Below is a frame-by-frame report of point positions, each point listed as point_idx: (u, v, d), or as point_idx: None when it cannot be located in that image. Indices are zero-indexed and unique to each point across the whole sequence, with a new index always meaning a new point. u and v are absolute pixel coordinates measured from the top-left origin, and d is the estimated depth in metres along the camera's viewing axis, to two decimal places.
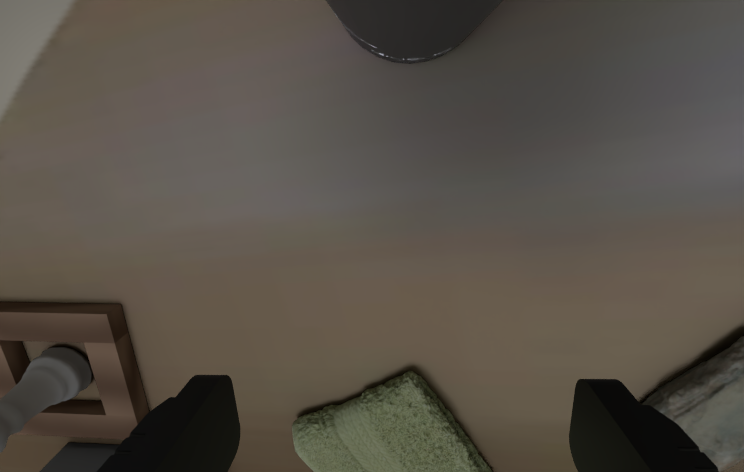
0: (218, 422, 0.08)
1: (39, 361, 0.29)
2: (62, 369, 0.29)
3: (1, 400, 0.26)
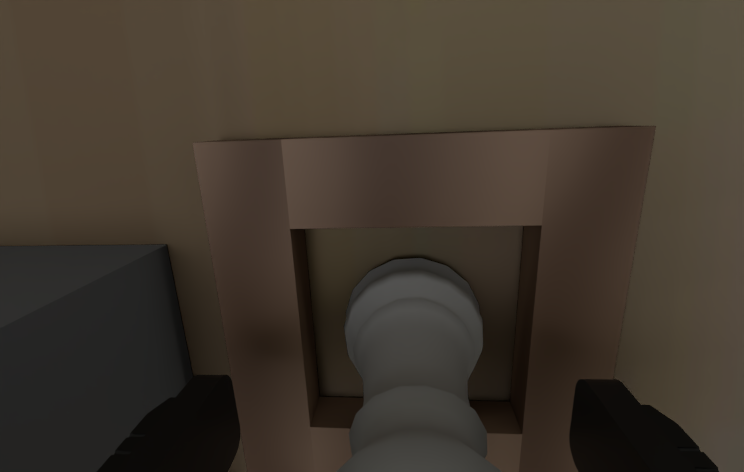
0: (218, 422, 0.08)
1: (478, 335, 0.11)
2: None
3: None
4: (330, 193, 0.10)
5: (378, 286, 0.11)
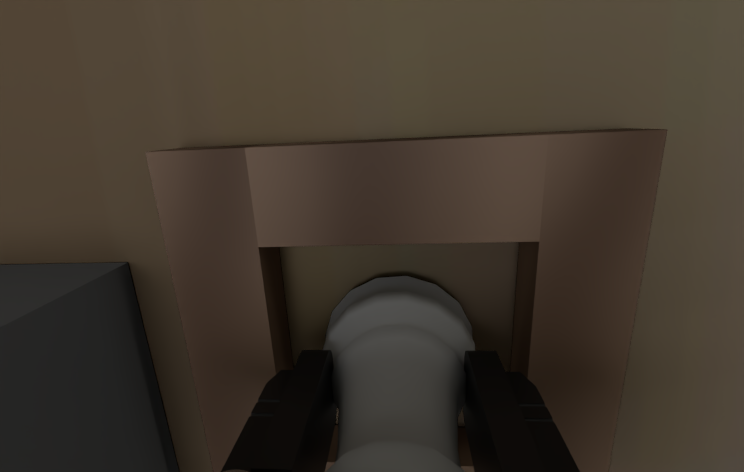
0: (327, 392, 0.09)
1: None
2: None
3: None
4: (302, 207, 0.09)
5: (358, 310, 0.10)
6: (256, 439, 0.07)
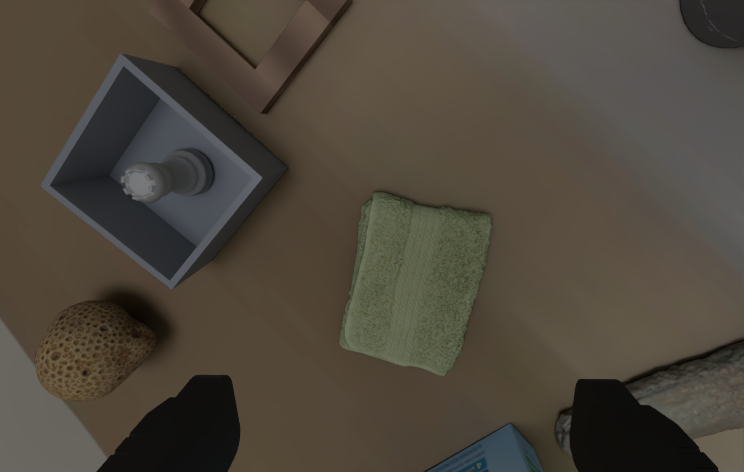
0: (218, 421, 0.08)
1: (201, 170, 0.34)
2: (197, 189, 0.34)
3: (173, 177, 0.31)
4: None
5: (168, 154, 0.34)
6: None
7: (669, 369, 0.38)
